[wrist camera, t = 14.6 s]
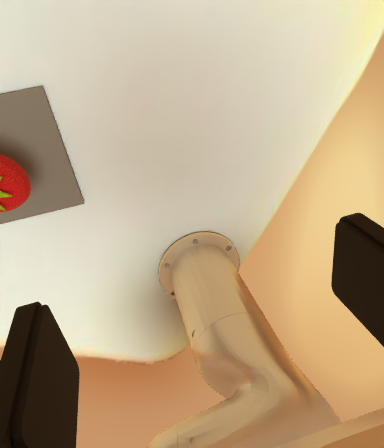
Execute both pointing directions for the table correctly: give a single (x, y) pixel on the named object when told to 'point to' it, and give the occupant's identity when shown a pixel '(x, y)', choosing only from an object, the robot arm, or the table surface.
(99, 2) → the table surface
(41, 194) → the mat
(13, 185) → the strawberry
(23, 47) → the table surface
